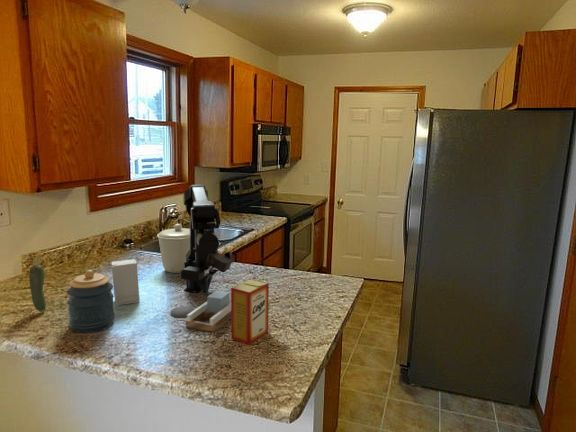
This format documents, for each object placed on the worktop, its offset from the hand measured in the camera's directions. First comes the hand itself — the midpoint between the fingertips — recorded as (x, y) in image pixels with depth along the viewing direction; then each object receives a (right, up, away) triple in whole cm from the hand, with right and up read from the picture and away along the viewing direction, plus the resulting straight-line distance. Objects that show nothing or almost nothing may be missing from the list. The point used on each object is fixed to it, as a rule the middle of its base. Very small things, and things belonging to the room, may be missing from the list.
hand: (205, 293), depth 130 cm
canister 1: (-35, -10, +1) cm, 37 cm away
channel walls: (+1, -8, +4) cm, 9 cm away
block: (+3, -7, +9) cm, 12 cm away
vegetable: (-57, -8, +9) cm, 58 cm away
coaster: (-10, -8, +11) cm, 17 cm away
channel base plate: (+3, -9, +10) cm, 14 cm away
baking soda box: (+14, -12, -5) cm, 19 cm away
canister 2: (-23, 0, +57) cm, 61 cm away
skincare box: (-32, -7, +19) cm, 38 cm away
